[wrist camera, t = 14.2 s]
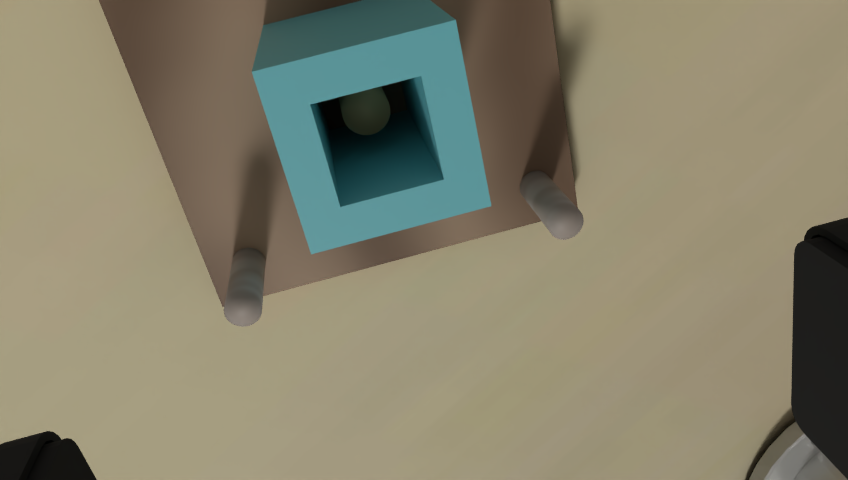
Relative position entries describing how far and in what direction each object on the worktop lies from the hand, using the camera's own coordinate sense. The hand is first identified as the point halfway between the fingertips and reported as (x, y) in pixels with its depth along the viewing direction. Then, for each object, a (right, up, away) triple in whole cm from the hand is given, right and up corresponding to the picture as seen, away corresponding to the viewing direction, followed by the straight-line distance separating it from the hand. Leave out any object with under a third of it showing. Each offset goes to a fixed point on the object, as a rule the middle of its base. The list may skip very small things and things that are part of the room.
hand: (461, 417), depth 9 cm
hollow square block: (-3, +8, +15) cm, 17 cm away
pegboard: (-3, +8, +16) cm, 18 cm away
